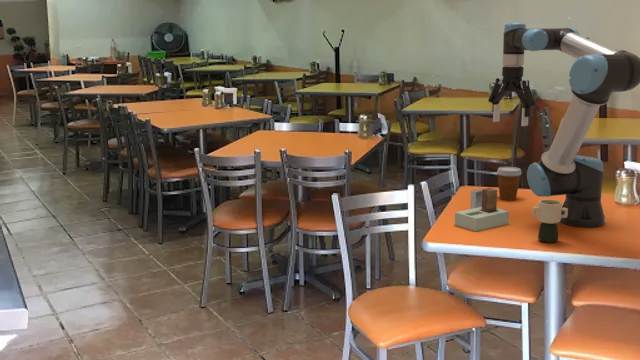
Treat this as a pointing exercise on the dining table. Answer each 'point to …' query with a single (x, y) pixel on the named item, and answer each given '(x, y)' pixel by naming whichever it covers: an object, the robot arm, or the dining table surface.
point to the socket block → (481, 219)
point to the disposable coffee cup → (508, 182)
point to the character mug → (549, 218)
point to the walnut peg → (489, 200)
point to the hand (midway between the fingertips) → (510, 123)
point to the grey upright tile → (476, 198)
